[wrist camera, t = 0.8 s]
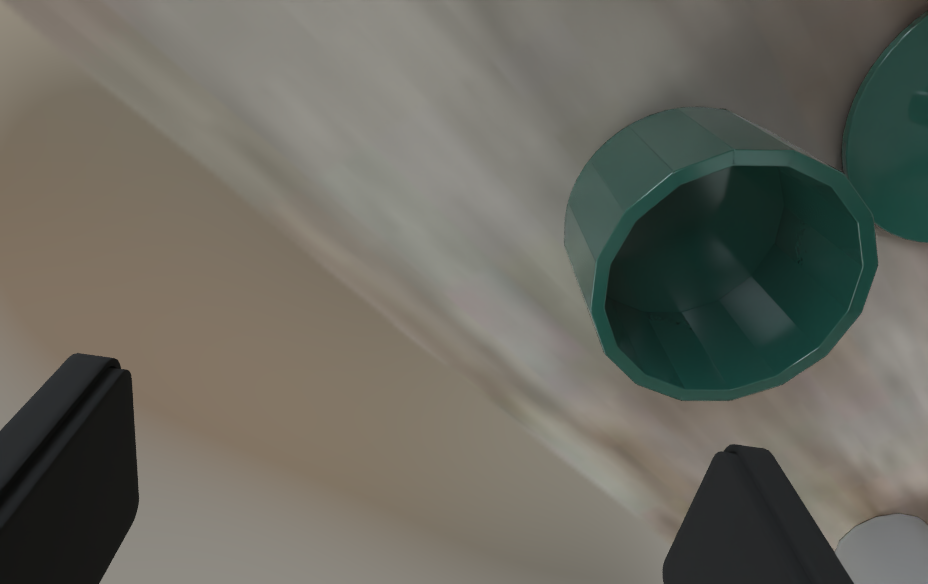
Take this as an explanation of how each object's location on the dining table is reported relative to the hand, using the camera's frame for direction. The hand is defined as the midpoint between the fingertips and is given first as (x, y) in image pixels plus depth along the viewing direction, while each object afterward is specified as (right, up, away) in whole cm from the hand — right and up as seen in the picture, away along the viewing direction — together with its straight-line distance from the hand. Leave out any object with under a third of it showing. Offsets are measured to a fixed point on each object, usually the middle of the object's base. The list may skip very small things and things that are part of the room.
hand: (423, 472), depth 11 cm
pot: (+14, +8, +32) cm, 36 cm away
